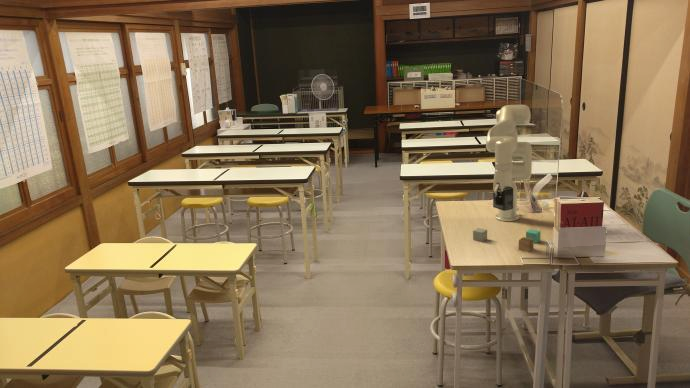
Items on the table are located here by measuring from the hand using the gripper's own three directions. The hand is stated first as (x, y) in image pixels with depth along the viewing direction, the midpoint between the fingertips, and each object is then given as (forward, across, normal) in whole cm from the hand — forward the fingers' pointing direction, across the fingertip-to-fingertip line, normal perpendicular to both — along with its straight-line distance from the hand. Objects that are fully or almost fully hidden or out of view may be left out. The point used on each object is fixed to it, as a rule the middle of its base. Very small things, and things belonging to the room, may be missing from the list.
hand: (502, 202), depth 253 cm
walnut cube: (+21, +1, +12) cm, 24 cm away
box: (+3, 0, 0) cm, 3 cm away
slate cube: (+21, +1, -12) cm, 24 cm away
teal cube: (+21, -11, +10) cm, 26 cm away
